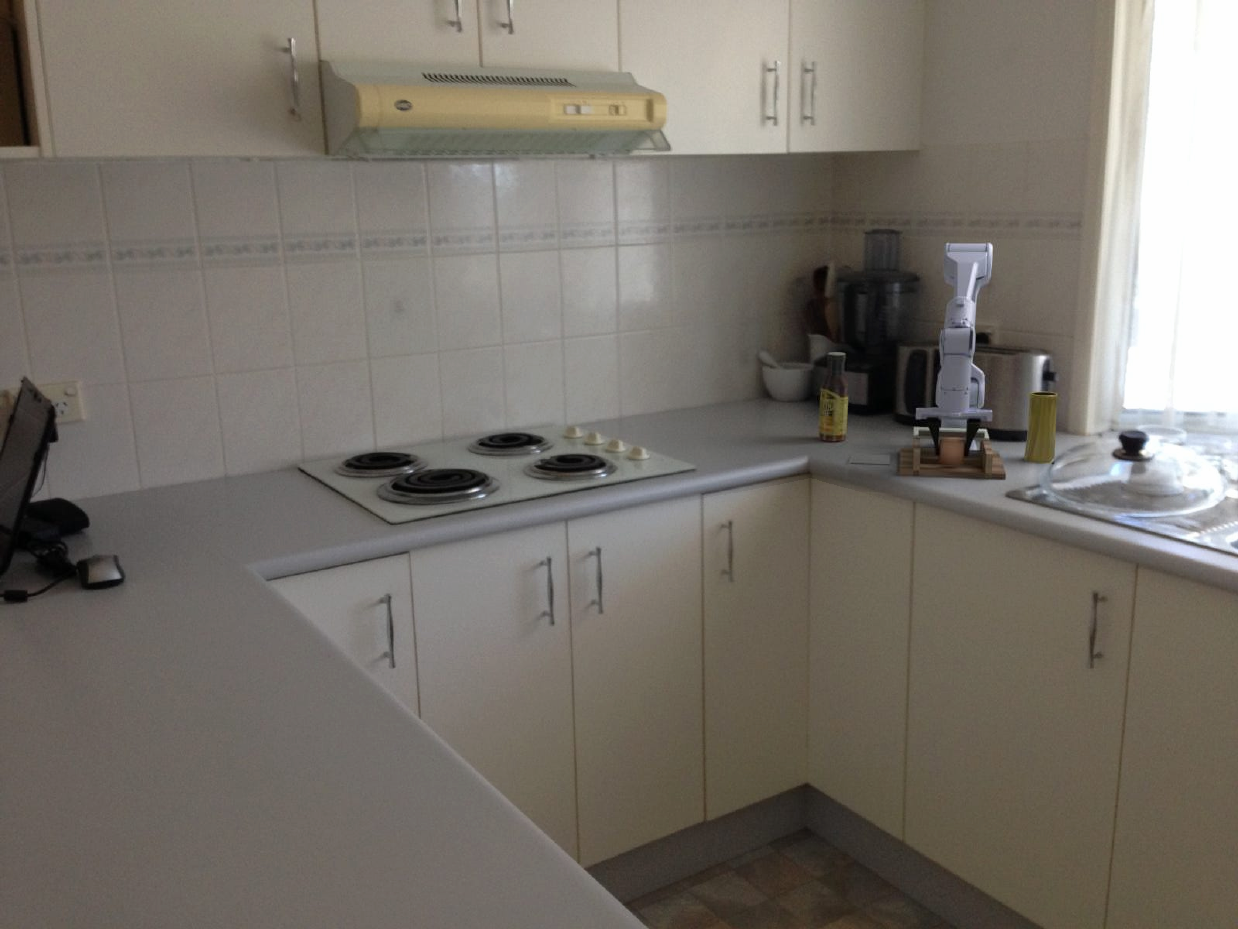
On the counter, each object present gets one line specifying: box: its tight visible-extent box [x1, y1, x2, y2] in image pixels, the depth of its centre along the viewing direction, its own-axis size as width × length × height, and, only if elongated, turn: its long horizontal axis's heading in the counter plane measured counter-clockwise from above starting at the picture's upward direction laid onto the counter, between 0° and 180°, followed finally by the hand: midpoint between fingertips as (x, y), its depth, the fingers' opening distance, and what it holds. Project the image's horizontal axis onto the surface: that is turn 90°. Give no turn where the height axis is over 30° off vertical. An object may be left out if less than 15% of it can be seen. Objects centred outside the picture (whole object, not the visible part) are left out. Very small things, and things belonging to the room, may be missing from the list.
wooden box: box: [898, 435, 1007, 480], centre depth 234 cm, size 20×20×5 cm
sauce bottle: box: [818, 351, 850, 443], centre depth 259 cm, size 6×6×20 cm
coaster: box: [849, 453, 891, 466], centre depth 240 cm, size 8×8×1 cm
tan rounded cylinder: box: [938, 437, 965, 465], centre depth 231 cm, size 5×5×4 cm
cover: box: [913, 426, 990, 442], centre depth 239 cm, size 9×15×2 cm, turn 76°
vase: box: [1023, 390, 1058, 464], centre depth 236 cm, size 6×6×14 cm
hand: (951, 454), depth 231 cm, fingers closed on tan rounded cylinder, 5 cm apart
